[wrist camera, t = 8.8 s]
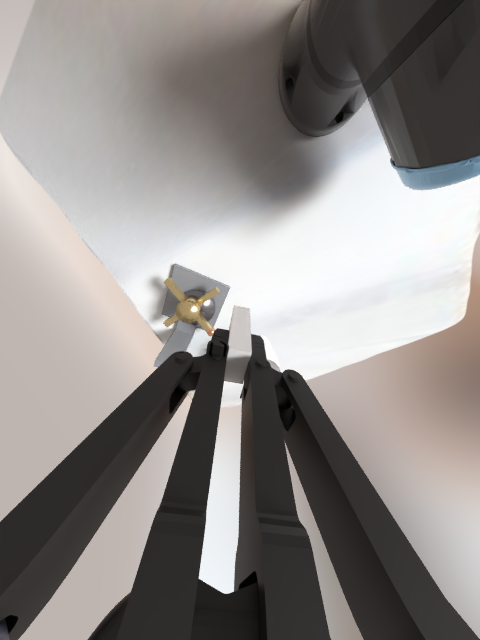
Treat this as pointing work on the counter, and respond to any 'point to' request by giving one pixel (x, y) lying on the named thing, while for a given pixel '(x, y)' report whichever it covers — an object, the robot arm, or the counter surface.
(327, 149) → the counter surface
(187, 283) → the stand
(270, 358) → the cup
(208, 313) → the capstan
